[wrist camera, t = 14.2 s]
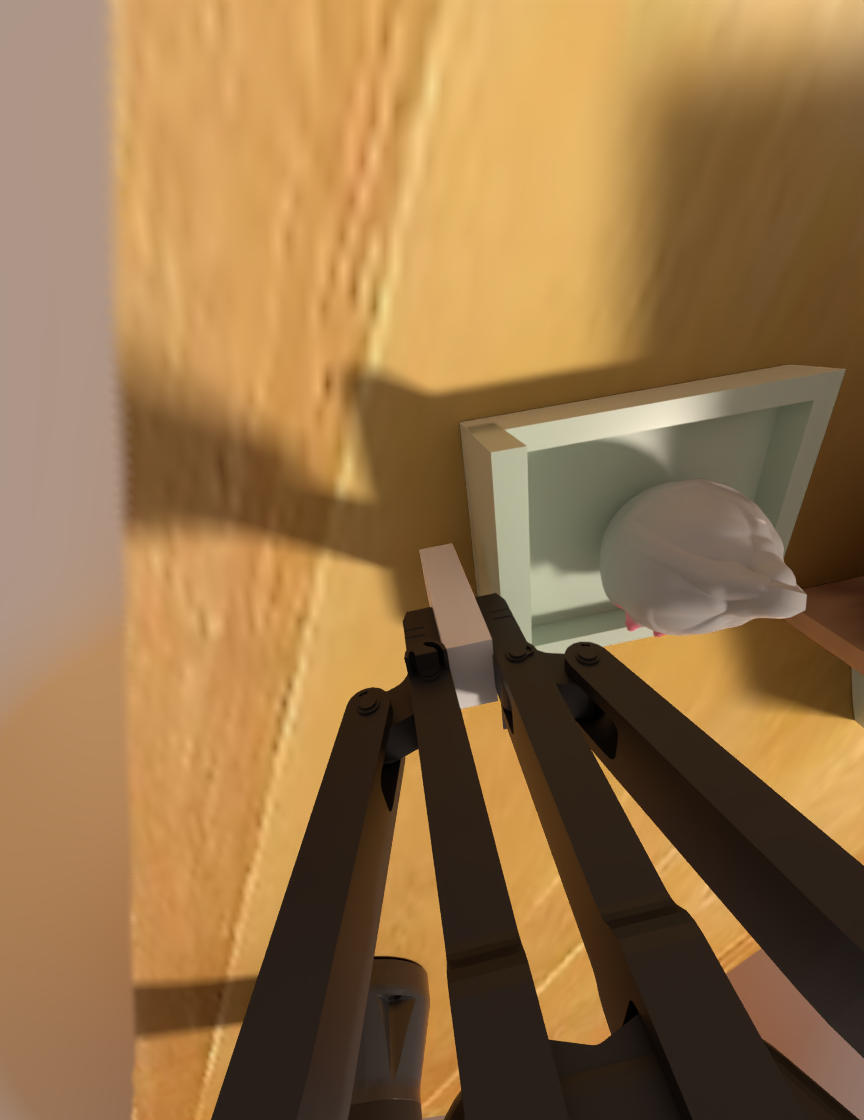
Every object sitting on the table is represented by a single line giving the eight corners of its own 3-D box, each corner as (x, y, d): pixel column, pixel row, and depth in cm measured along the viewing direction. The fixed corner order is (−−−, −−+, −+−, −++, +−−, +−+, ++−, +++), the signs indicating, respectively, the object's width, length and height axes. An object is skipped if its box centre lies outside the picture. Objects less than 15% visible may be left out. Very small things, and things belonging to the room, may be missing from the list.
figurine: (548, 577, 21) (639, 699, 14) (617, 442, 18) (776, 513, 11) (651, 601, 23) (777, 720, 16) (730, 482, 20) (926, 565, 13)
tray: (481, 638, 24) (508, 707, 19) (459, 422, 18) (490, 452, 13) (730, 587, 24) (809, 642, 20) (789, 364, 18) (920, 375, 14)
